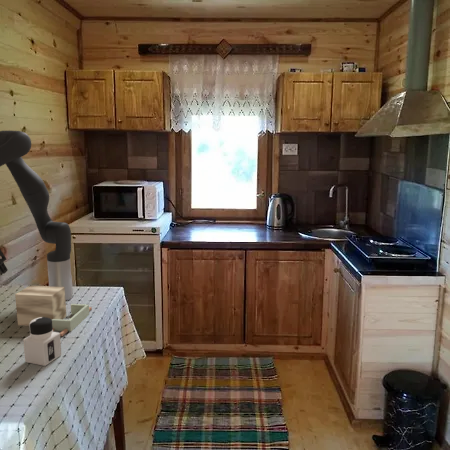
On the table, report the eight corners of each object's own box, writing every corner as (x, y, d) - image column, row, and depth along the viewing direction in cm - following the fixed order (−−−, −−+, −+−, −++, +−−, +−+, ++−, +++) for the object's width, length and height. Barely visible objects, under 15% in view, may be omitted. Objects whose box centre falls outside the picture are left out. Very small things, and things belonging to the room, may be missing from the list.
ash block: (32, 314, 176) (30, 285, 173) (66, 316, 174) (64, 287, 172) (17, 325, 166) (15, 294, 164) (53, 327, 164) (51, 296, 162)
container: (62, 355, 143) (59, 316, 141) (45, 366, 136) (41, 326, 134) (42, 351, 146) (39, 313, 143) (24, 362, 139) (21, 322, 136)
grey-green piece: (77, 309, 181) (76, 299, 181) (94, 310, 180) (93, 300, 180) (46, 335, 157) (45, 325, 156) (65, 337, 156) (64, 326, 155)
